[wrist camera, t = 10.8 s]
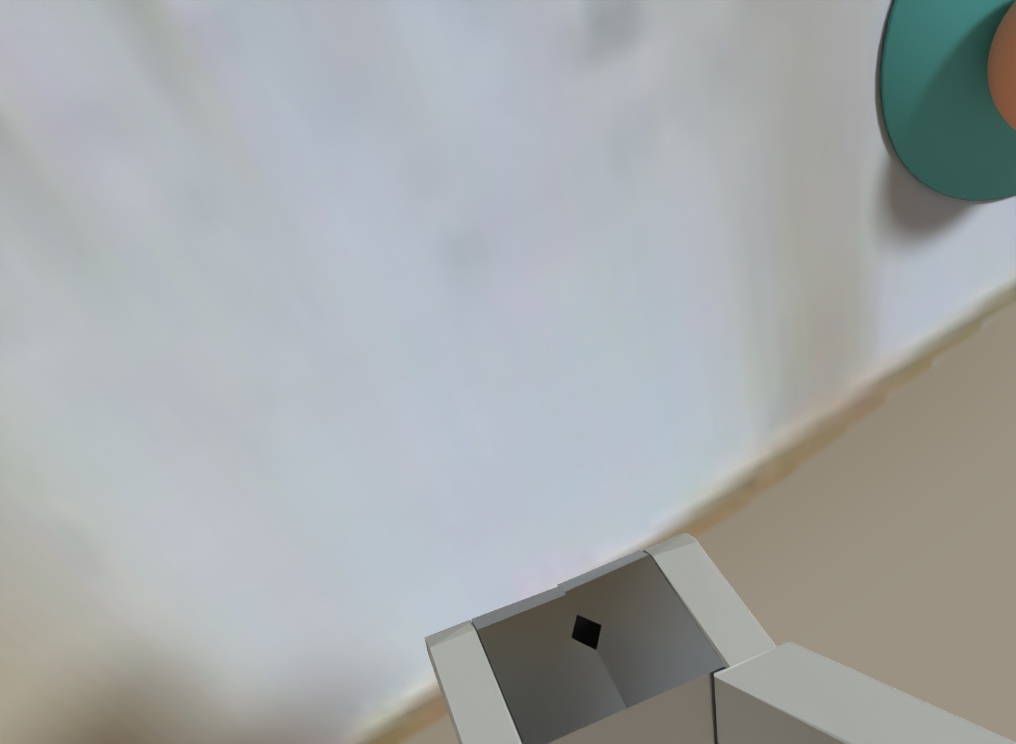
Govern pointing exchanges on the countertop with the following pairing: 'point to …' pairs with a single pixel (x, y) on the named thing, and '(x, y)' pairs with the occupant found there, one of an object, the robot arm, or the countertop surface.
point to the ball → (1004, 67)
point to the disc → (947, 97)
